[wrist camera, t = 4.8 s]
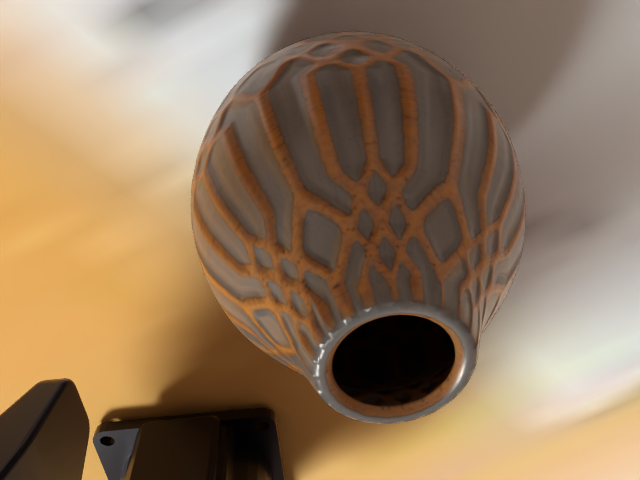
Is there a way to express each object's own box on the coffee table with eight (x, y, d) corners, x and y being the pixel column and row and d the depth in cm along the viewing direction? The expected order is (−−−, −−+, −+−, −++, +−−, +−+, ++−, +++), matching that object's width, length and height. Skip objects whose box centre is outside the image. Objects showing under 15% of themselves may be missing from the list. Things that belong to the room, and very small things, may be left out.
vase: (376, -56, 13) (513, 5, 6) (503, 165, 16) (700, 394, 9) (154, 116, 15) (31, 340, 7) (308, 285, 18) (332, 563, 10)
